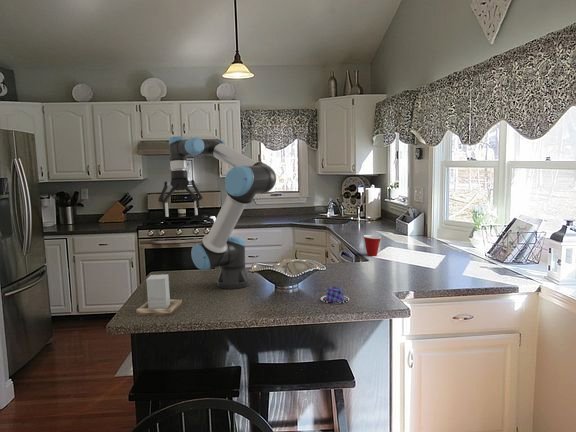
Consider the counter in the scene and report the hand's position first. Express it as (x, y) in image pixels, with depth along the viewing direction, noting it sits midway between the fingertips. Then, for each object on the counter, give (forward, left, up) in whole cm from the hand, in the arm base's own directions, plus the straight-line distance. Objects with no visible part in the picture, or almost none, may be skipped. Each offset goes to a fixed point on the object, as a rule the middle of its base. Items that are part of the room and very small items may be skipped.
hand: (181, 216), depth 219 cm
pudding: (-71, +20, -34) cm, 81 cm away
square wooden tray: (-2, +36, -33) cm, 49 cm away
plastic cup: (-92, -72, -33) cm, 122 cm away
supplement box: (-2, +36, -33) cm, 49 cm away
